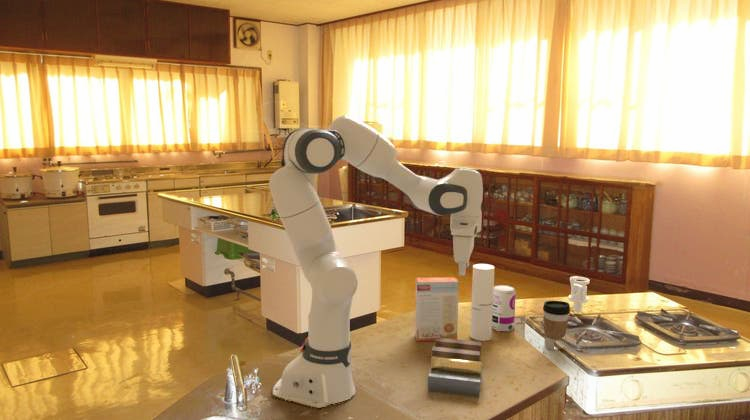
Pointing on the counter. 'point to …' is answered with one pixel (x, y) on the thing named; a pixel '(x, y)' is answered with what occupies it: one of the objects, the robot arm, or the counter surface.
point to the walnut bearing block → (457, 349)
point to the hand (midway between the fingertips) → (463, 270)
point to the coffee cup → (555, 321)
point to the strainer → (578, 292)
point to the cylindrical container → (482, 302)
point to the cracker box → (436, 308)
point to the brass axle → (456, 365)
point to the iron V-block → (454, 383)
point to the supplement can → (503, 308)
